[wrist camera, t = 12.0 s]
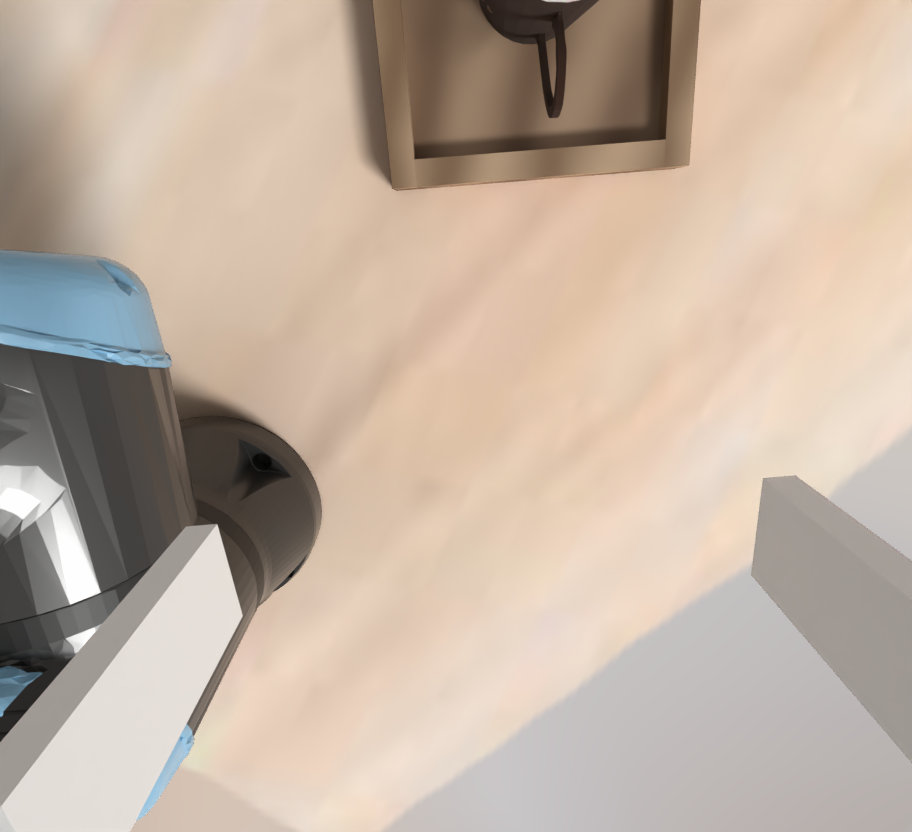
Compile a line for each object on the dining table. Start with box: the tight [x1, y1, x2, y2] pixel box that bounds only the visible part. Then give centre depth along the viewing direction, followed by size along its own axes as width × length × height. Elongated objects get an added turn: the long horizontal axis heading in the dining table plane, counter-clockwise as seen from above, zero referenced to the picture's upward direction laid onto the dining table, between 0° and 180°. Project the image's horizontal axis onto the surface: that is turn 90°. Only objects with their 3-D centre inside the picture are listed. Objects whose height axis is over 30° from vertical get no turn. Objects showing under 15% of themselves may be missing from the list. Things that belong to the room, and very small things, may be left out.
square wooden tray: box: [373, 0, 701, 191], centre depth 30 cm, size 18×18×2 cm
